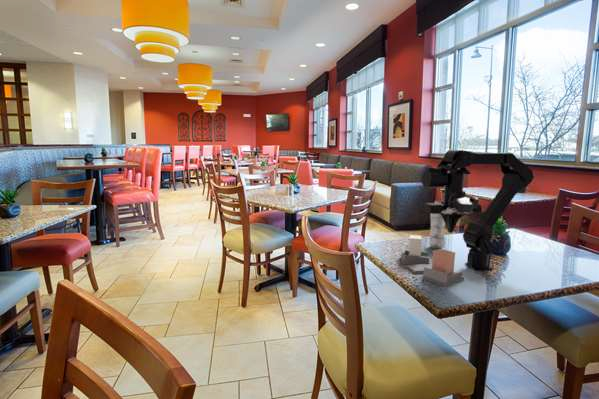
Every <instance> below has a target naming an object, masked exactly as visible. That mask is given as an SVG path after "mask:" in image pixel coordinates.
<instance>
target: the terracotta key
mask: <svg viewBox="0 0 599 399" xmlns="http://www.w3.org/2000/svg"><path fill="white" fill-rule="evenodd" d="M455 260H456V252H455V251H451V250H448V249H444V248H442V249H435V250H433V253H432V269H436V270H439V271H442V272H445V273H448V274H451V273H453V272H455ZM448 274H447V275H448Z"/></svg>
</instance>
